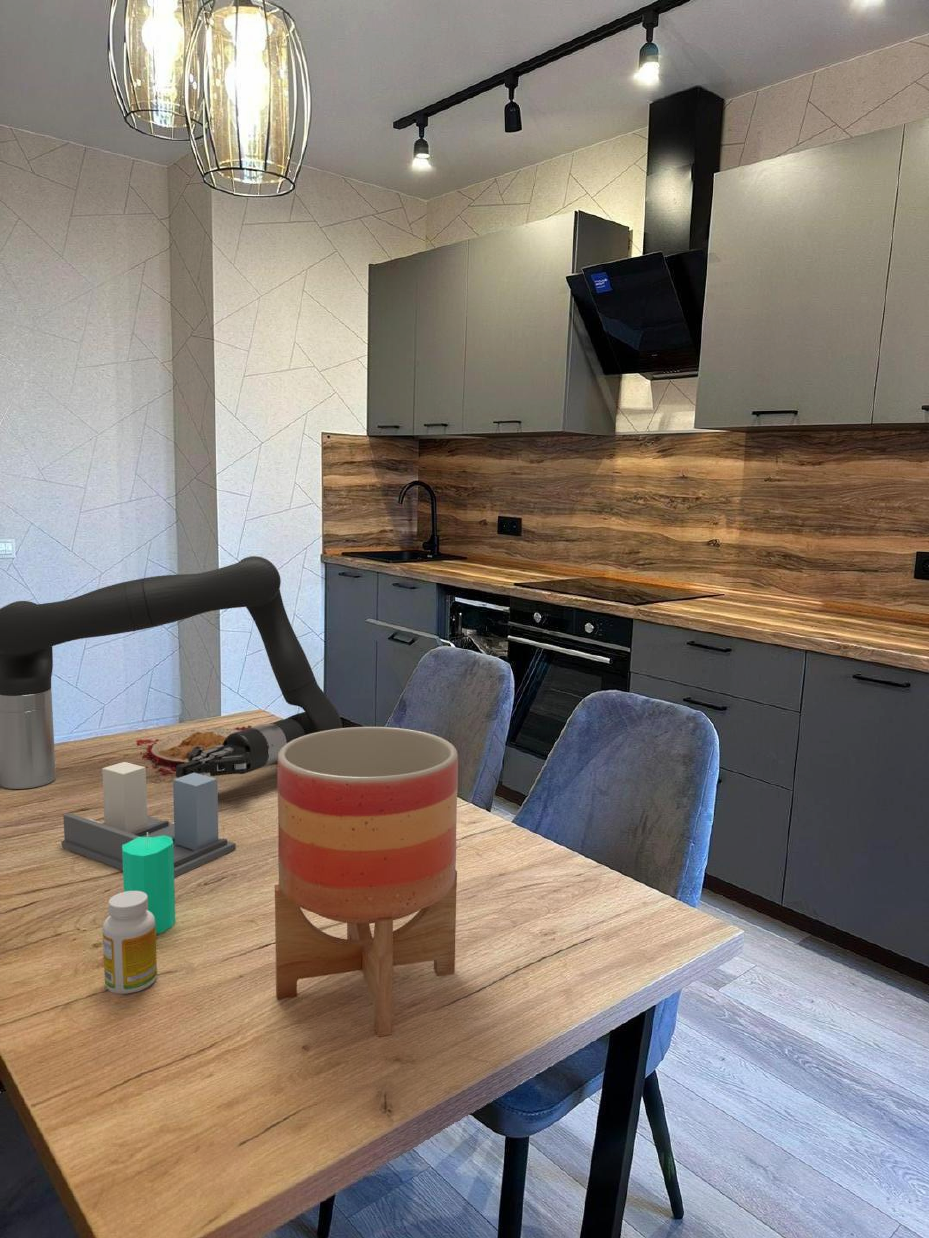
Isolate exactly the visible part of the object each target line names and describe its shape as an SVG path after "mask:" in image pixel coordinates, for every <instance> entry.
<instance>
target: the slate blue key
mask: <svg viewBox="0 0 929 1238" xmlns="http://www.w3.org/2000/svg"><path fill="white" fill-rule="evenodd" d="M172 788H173V790H172V791H173V792H172V793H173V794H172V795H173V824H174V835H175V844H177V845H180V846H183V847H186V848H189V849H192V850H197V849H200V848H202V847H204V846H207V845H209V844H211V843H214V842H216V841H218V840H219V806H218V805H219V802H218V801H219V800H218V799H219V798H218V796H219V794H218V793H219V792H218V788H219V787H218V778H216V777H214V776H210V775H201V774H197V773H192V774H189V775H186V776H183V777H180V778H177V777H176V778H174V779H172Z"/></svg>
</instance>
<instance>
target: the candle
mask: <svg viewBox="0 0 929 1238" xmlns="http://www.w3.org/2000/svg"><path fill="white" fill-rule="evenodd" d="M122 856H123V870H122V874H123V875H122V877H123V878H122V879H123V881H122V883H123V892H127V891H141V892H144V893H146V894H147V896H148V909H147V910H148V911H150V912H151V913H152V914H153V915H154V918H155V930H156V935H157V934H161V933H163V932H165V931H167V930H170V929H171V928H172V926H174V924H175V923H176V898H175V897H176V896H175V892H176V891H175V877H174V854H173V841H172V838H171V837H167V836H164V835H163V836H157V837H148V832H147V837H138V838H136V839H134V840H132V841H130V842H128V843H126V844H124V845H122Z"/></svg>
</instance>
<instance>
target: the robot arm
mask: <svg viewBox="0 0 929 1238" xmlns="http://www.w3.org/2000/svg"><path fill="white" fill-rule="evenodd" d="M281 580H282V579H281V575H280V573H279V570H278V568H277V567H276V566H275V565H274V564H273V563H272V561H270V560H268V559H267V558H265V557H262V556H257V555H251V556H247V557H244V558H242V559H241V560H238V562H235V563H233V564H230V565H226V566H223V567H220V568H215V569H212V570H208V571H205V572H199V573H186V574H185V573H184V574H182V573H181V574H166V575H155V576H147V577H143V578H142V577H141V578H139V579H138V578H137V579H132V580H127V581H123V582H119V583H115V584H111V585H108V586H104V587H100V588H98V589H95V590H91V591H90V592H87V593H84V594H81V595H78V596H75V597H73V598H69V599H66V600H65V599H64V600H59V601H54V602H47V603H46V602H44V603H36V602H32V601H30V600H29V601H28V600H17V601H14V602H11V603H9V604H7V605H4V606H2V607H0V787H2V788H5V789H10V790H13V789H14V790H20V789H21V790H23V789H24V790H25V789H32V788H37V787H42V786H45V785H48V784H51V783H53V781H55V780H56V776H57V775H56V757H55V755H56V754H55V753H56V752H55V733H54V713H53V695H52V692H53V691H52V675H53V670H54V669H53V667H54V661H53V660H54V659H53V657H54V655H53V652H54V651H53V647H54V646H56V645H61V644H64V643H68V642H71V641H72V642H73V641H77V640H82V639H89V638H98V637H107V636H112V635H119V634H125V633H130V632H131V633H132V632H138V631H141V630H145V629H151V628H156V627H160V626H163V625H164V626H165V625H168V624H171V623H175V622H178V621H179V622H180V621H183V620H185V619H188V618H191V617H192V618H193V617H195V616H198V615H201V614H204V613H209V612H214V611H220V610H229V609H240V608H246V609H247V611H248V612H249V614H250V616H251V618H252V620H253V621H254V624H255V626H256V628H257V631H258V633H259V635H260V637H261V640H262V643H263V646H264V648H265V653H266V655H267V658H268V660H269V661H268V662H269V663H270V667H271V670H272V673H273V675H274V677H275V680H276V682H277V685H278V687H279V689H280V692H281V695H282V696H283V698H284V699H283V700H285V702H286V703H287V704H288V705H290V706H295V707H300V708H301V709H302V710H303V711H302V712H300V713H299V712H298V713H296V714H292V715H291V716H288V717H286V718H284V719H281V720H280V719H279V720H277V721H273V722H270V723H266V724H265V723H264V724H259V725H255V726H252V728H248V729H245V730H242V731H238V732H235V733H232V734H230V735H229V736H228V737H227V738H226V739H225V741H224V743H223V744H222V745H217V746H214V747H212V748H211V749H209V750H207V751H202V749H201V747H199V746H197V747H194V748H193V750H192V751H191V753H190V754H189V756H188V761H189V762H186V763H183V764H180V765H177V766H176V772H175V778H176V779H177V778H180V777H183V776H186V775H189V774H192V773H197V774H201V775H205V776H207V775H209V777H215V776H228V775H237V774H238V775H245V774H248V773H250V772H253V771H256V770H258V769H261V768H264V767H267V766H270V765H272V764H274V763H276V762H278V753H279V751H280V750H281V748H282V747H284V746H285V745H286V744H287V743H289V742H290V741H292V740H294V739H297V738H299V737H302V736H305V735H308V734H312V733H316V732H320V731H326V730H332V729H340V728H343V723H342V719H341V715H340V713H339V711H338V710H337V708H336V707H335V706H334V704H333V703H332V702H331V700H330V699H329V697H328V696H327V695H326V693H325V692H324V691H323V689H321V687H320V686H319V684H318V682H317V680H316V677H315V675H314V673H313V669H312V667H311V665H310V661H309V659H308V657H307V655H306V654H305V651H304V649H303V647H302V646H301V643H300V640H299V639H298V637H297V635H296V633H295V631H294V629H293V627H292V624H291V622H290V620H289V617H288V615H287V614H288V613H287V612H286V608H285V605H284V602H283V599H282V593H281V590H280V589H281V582H282V581H281Z"/></svg>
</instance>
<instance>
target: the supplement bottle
mask: <svg viewBox="0 0 929 1238" xmlns="http://www.w3.org/2000/svg"><path fill="white" fill-rule="evenodd" d="M147 909H148V896H147V894H146V893H144V892H141V891H127V892H124V891H123V892H120V893H117V894H115V895H113V896H111V897H110V898H109V900H108V914H109V916H107V918H106V919H105V920H104V922H103V924H102V946H103V947H102V949H103V951H102V952H103V969H104V970H103V971H104V973H103V975H104V985H105V987H106V989H107V990H108V991H109V992H111V993H114V994H120V995H124V994H127V995H128V994H132V993H133V994H134V993H137V992H139V991H140V992H141V991H143V990H145V989H146V988H148V987H150V986H151V985H152V984H153V983H154V982H155V981H156V979H157V975H158V966H157V965H158V964H157V963H158V962H157V938H156V936H157V934H156V930H155V918H154V915H153V914H152V913H151V912H150V911H148V910H147Z"/></svg>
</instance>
